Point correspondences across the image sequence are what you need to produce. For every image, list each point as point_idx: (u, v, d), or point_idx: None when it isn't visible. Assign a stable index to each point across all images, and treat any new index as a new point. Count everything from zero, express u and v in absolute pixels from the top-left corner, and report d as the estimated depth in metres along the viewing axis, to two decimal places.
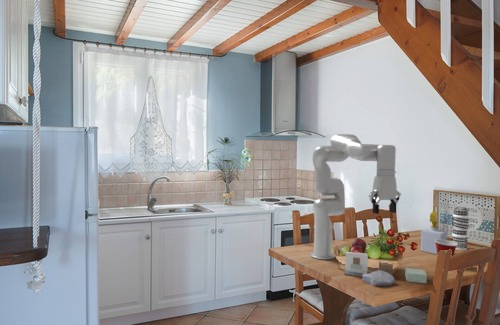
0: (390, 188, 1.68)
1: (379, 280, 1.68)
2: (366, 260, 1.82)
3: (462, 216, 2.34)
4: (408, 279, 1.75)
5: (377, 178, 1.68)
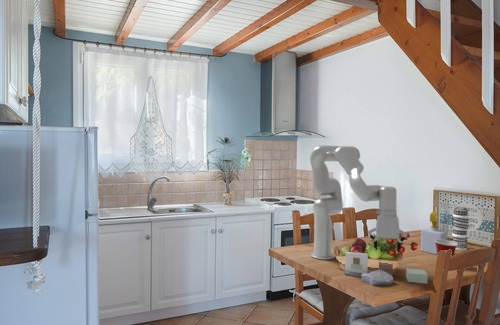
0: None
1: (378, 280, 1.69)
2: (366, 260, 1.82)
3: (462, 216, 2.34)
4: (409, 279, 1.75)
5: None
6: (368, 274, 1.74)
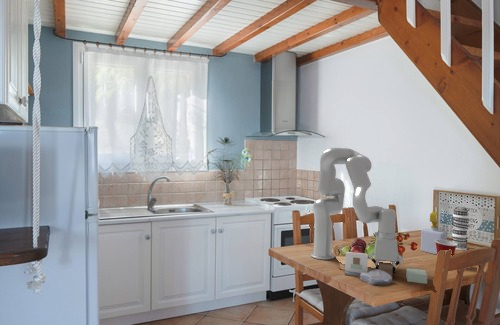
0: None
1: (377, 279, 1.70)
2: (366, 260, 1.82)
3: (462, 216, 2.34)
4: (408, 279, 1.75)
5: None
6: (367, 273, 1.75)
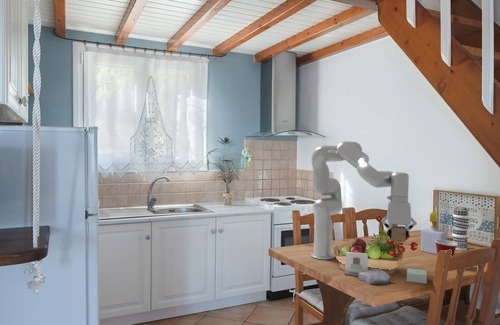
0: None
1: (375, 278, 1.71)
2: (366, 260, 1.82)
3: (462, 216, 2.34)
4: (408, 279, 1.75)
5: None
6: (365, 273, 1.75)
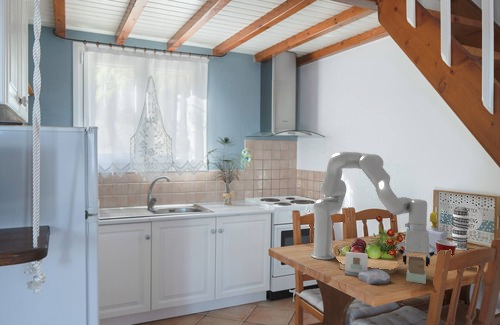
0: None
1: (375, 278, 1.71)
2: (366, 260, 1.82)
3: (462, 216, 2.34)
4: (407, 279, 1.76)
5: None
6: (365, 273, 1.75)
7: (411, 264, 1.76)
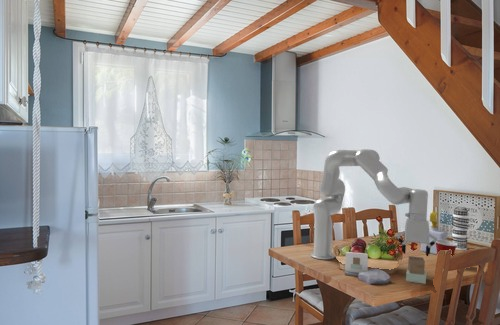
0: None
1: (375, 278, 1.71)
2: (366, 260, 1.82)
3: (462, 216, 2.34)
4: (407, 279, 1.76)
5: None
6: (365, 273, 1.75)
7: (411, 264, 1.75)
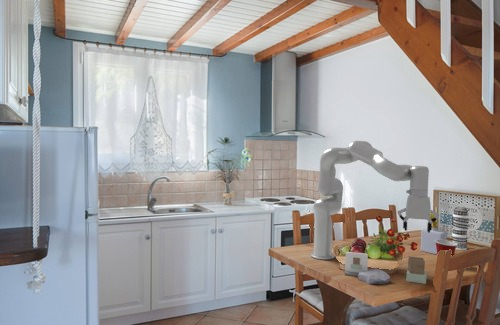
0: None
1: (375, 278, 1.71)
2: (366, 260, 1.82)
3: (462, 216, 2.34)
4: (407, 279, 1.76)
5: None
6: (365, 273, 1.75)
7: (411, 264, 1.75)
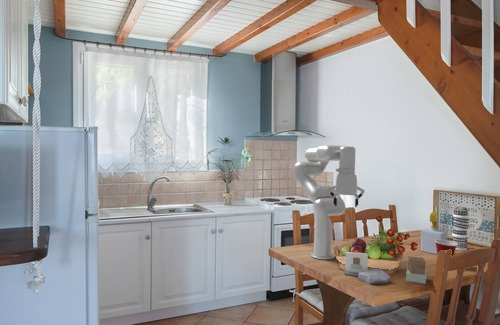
0: None
1: (375, 278, 1.71)
2: (366, 260, 1.82)
3: (462, 216, 2.34)
4: (407, 279, 1.76)
5: None
6: (365, 273, 1.75)
7: (412, 264, 1.75)
